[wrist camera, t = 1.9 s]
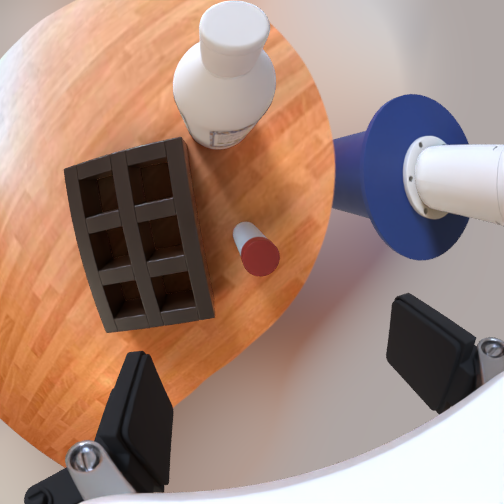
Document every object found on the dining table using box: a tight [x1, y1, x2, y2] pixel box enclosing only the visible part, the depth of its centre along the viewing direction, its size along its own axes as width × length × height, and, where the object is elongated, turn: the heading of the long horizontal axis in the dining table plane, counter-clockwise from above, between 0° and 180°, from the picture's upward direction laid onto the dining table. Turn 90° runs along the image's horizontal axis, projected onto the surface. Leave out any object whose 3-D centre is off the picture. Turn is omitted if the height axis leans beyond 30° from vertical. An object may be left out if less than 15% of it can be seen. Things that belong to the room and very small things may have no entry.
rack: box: [64, 137, 215, 333], centre depth 27 cm, size 12×18×5 cm
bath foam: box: [173, 1, 276, 149], centre depth 18 cm, size 7×7×20 cm
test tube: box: [233, 222, 280, 276], centre depth 26 cm, size 3×3×10 cm
